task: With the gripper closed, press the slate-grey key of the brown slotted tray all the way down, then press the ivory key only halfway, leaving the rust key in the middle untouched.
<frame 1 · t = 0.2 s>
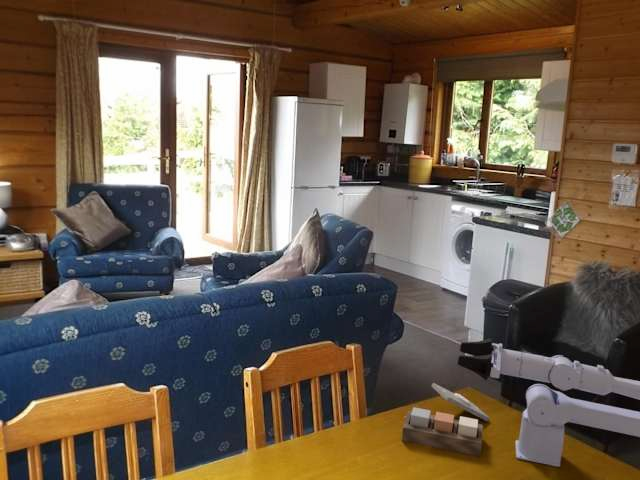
hand: (459, 353, 141), 22 cm above the table, tool horizontal, fingers open, 7 cm apart
slate key: (420, 418, 145), point 4 cm above the table, slide at 0.0 cm
ivory key: (467, 427, 142), point 4 cm above the table, slide at 0.0 cm
rust key: (443, 423, 143), point 4 cm above the table, slide at 0.0 cm
light switch: (458, 416, 157), on the table
brown slotted tray: (441, 439, 144), on the table
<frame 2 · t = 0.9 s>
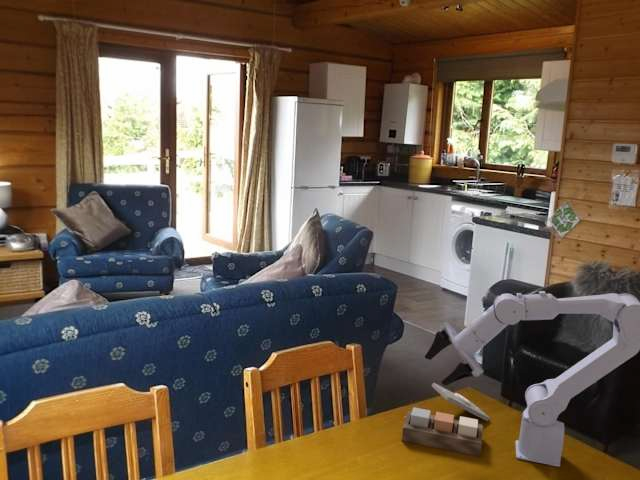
hand: (435, 370, 143), 17 cm above the table, tool tilted 40°, fingers open, 7 cm apart
nothing on the table moved.
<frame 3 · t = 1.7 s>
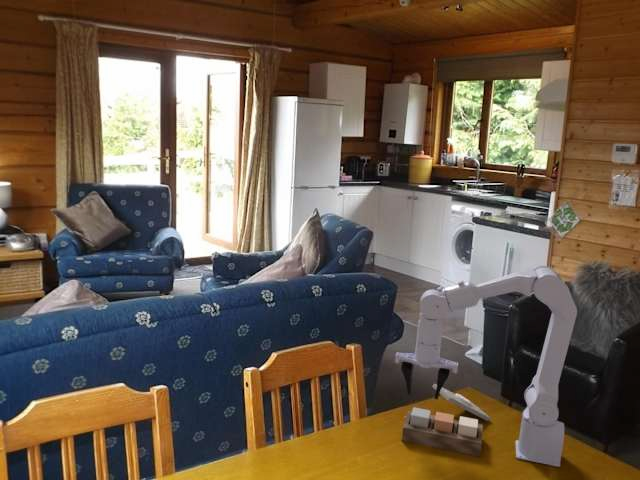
hand: (422, 394, 144), 10 cm above the table, tool pointing down, fingers open, 6 cm apart
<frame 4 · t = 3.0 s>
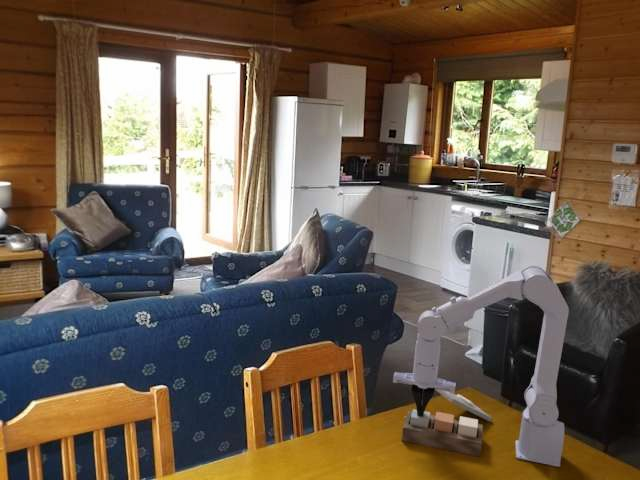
hand: (420, 414, 145), 5 cm above the table, tool pointing down, fingers closed, pressing on slate key
slate key: (420, 420, 145), point 4 cm above the table, slide at 0.5 cm, touching gripper
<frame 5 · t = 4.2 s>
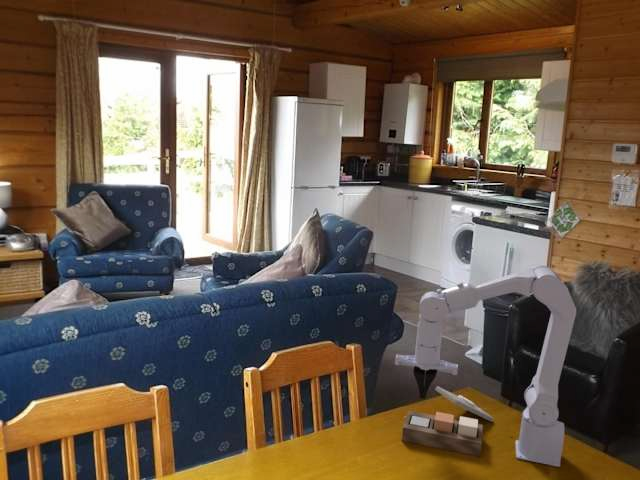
hand: (422, 397, 144), 10 cm above the table, tool pointing down, fingers closed
slate key: (419, 426, 145), point 2 cm above the table, slide at 2.2 cm
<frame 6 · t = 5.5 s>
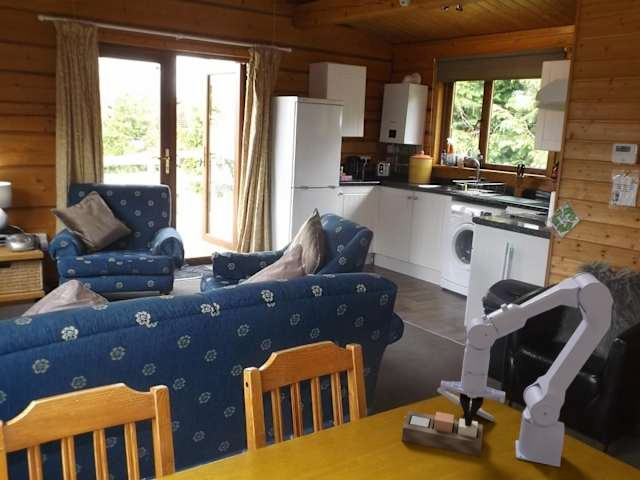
hand: (468, 424, 142), 5 cm above the table, tool pointing down, fingers closed, pressing on ivory key
ivory key: (467, 429, 142), point 4 cm above the table, slide at 0.5 cm, touching gripper
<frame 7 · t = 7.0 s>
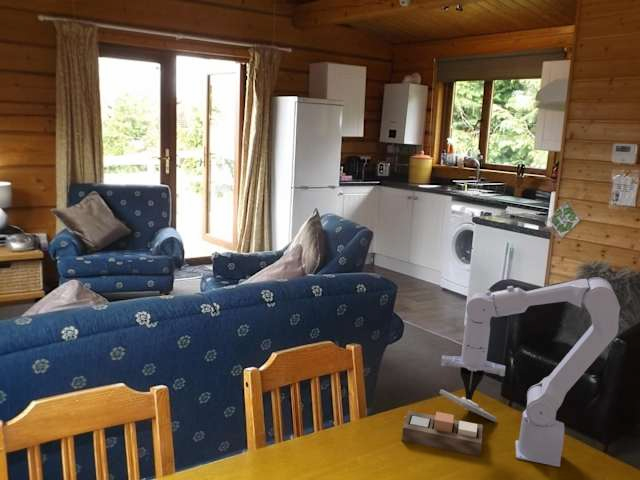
hand: (468, 398, 144), 10 cm above the table, tool pointing down, fingers closed
ivory key: (467, 432, 142), point 3 cm above the table, slide at 1.1 cm
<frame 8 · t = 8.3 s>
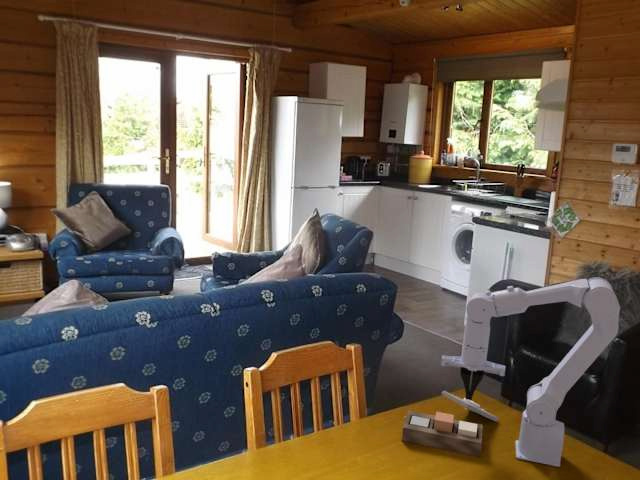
hand: (468, 398, 144), 10 cm above the table, tool pointing down, fingers closed
at the end: slate key slide at 2.2 cm; ivory key slide at 1.1 cm; rust key slide at 0.0 cm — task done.
